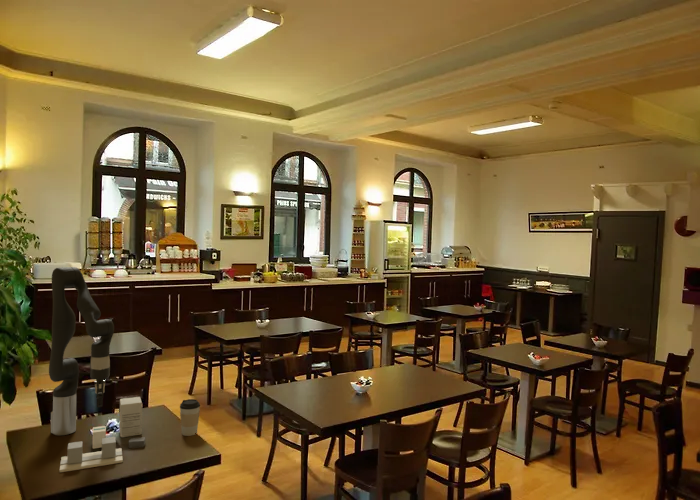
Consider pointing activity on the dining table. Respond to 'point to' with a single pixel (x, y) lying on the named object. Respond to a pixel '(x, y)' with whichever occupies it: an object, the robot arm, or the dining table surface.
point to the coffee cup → (189, 416)
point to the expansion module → (98, 436)
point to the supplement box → (130, 416)
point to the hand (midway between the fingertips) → (99, 403)
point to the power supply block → (136, 442)
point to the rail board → (91, 456)
